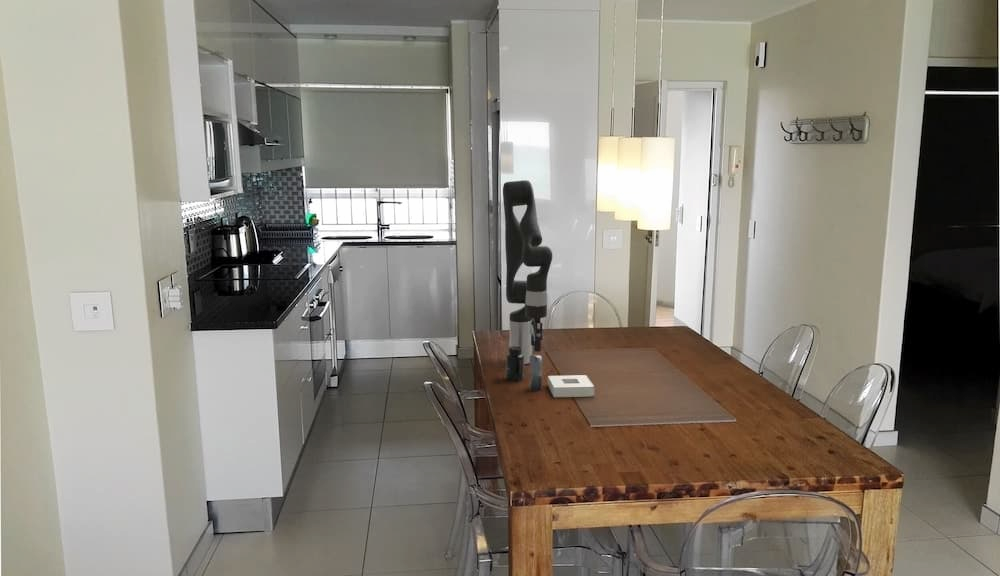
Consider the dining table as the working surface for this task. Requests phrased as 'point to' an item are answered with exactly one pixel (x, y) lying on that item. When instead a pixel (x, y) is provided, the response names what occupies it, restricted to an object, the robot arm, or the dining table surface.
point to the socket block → (570, 386)
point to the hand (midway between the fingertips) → (535, 348)
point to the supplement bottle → (515, 364)
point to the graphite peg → (535, 373)
